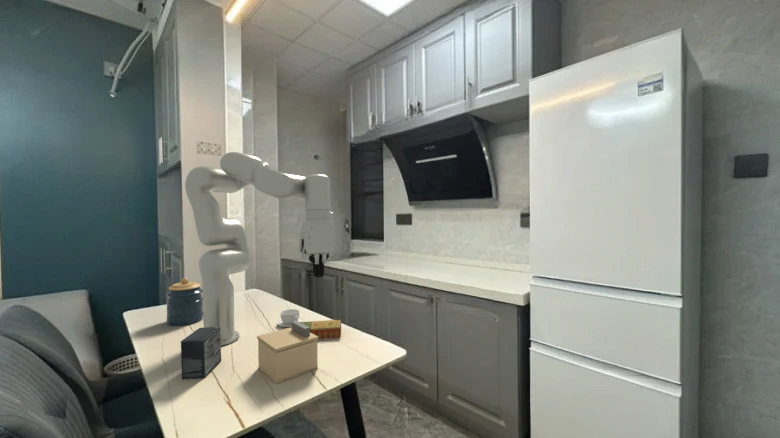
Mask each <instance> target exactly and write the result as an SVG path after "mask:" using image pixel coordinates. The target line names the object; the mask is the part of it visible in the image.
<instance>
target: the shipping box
mask: <svg viewBox="0 0 780 438" xmlns="http://www.w3.org/2000/svg"><path fill="white" fill-rule="evenodd" d="M257 343H258V344H257V345H258V351H257V352H258V354H257V357H258V359H257V360H258V369H259V370H260V371H261V372H263V373H264V374H265V375H266V376H267V377H268V378H270V380H272V381H273V383H275V384H279V383H280V384H281V383H282V382H284V381H288V380H291V379H293V378H296V377H298V376H301V375H304V374H306V373H310V372H313V371H314V370H318V368H319V367H318V340H315V341H312V342H308V343H305V344H302V345H298V346H295V347H292V348H289V349H285V350H282V351H279V352H275V351H273V350H272V349H270V348H269V347H268V346H266V345H265V344H264V343H262V342H261V341H259V340H258V339H257Z"/></svg>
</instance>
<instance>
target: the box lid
mask: <svg viewBox="0 0 780 438" xmlns="http://www.w3.org/2000/svg"><path fill="white" fill-rule="evenodd" d="M256 339H257V341H258V340H259V341H261V342H262V343H264V344H265V345H266V346H268V347H269V348H270V349H272V350H273V351H275V352H279V351H282V350H285V349H289V348H292V347H295V346H298V345H302V344H305V343H308V342H312V341H315V340H317V341H318V340H319V339H318V336H316V335H314V334H312V333H310V327H308V326H306V325H304V324H302V323H300V322H298V321H294V322H292V326H291V327H286V328H283V329H279V330H276V331H275V330H274V331H273V332H271V331H270V332H268V333H264V334H260V335H257V337H256Z"/></svg>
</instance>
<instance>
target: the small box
mask: <svg viewBox="0 0 780 438" xmlns="http://www.w3.org/2000/svg"><path fill="white" fill-rule="evenodd" d="M220 338H221V337H220V327H205V328H204V327H198V328H197V329H196V330H195V331H193V332H191V333H190V334H189V335H187V336H186V337H184V338H183V339H182V340H180V353H181V354H180V355H181V356H180V357H181V360H180V361H181V363H180V364H181V379H182V380H188V379H189V380H195V379H196V380H197V379H205V378H207V376H209V375H210V374H211V372H212V371H214V369H215V368H217V366H218V365H219V364H220V363H221V361H222V347H221V346H222V345H221V339H220Z"/></svg>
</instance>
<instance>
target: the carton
mask: <svg viewBox="0 0 780 438" xmlns="http://www.w3.org/2000/svg"><path fill="white" fill-rule="evenodd" d="M300 323H302V324H304V325H306V326H308V327H310V333H312V334H314V335H316V336H318V340H322V339H337V338H341V337H342V336H341V335H342V320H341V319H331V320H315V321H313V320H311V321H303V322H300Z"/></svg>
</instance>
